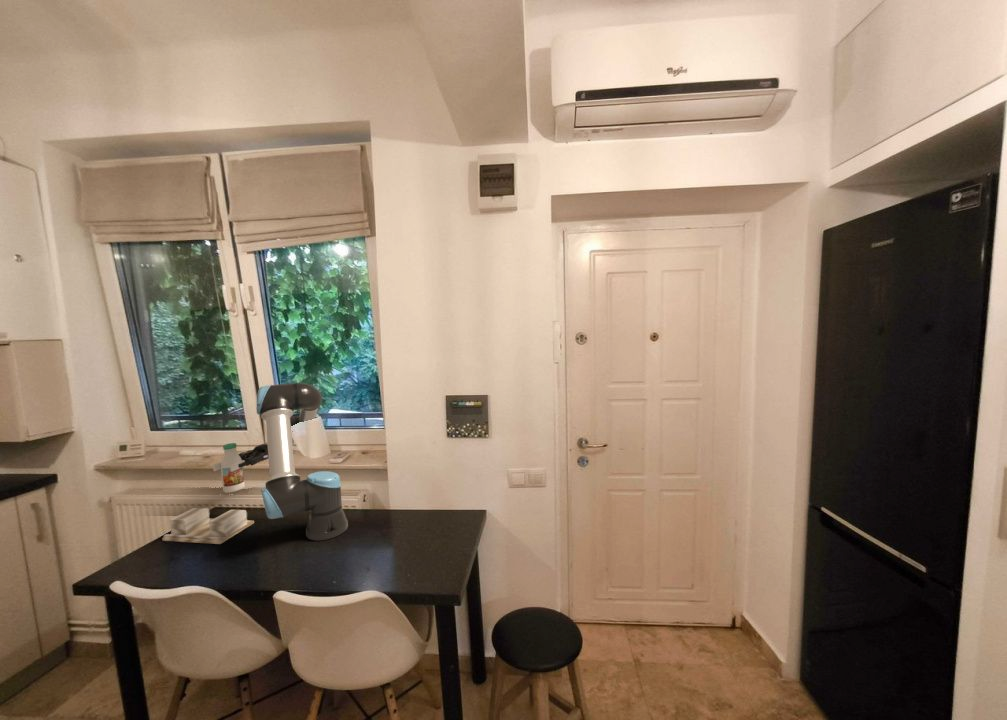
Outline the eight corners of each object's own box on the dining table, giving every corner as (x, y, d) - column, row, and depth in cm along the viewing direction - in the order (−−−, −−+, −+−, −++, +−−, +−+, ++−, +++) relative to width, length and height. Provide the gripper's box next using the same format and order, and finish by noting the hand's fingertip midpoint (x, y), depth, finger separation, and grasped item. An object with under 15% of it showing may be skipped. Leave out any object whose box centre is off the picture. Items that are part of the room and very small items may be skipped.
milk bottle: (218, 492, 159) (213, 447, 158) (234, 485, 167) (230, 441, 165) (233, 493, 158) (229, 447, 156) (249, 485, 165) (244, 441, 164)
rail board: (254, 522, 158) (252, 506, 158) (220, 544, 142) (218, 526, 142) (201, 520, 162) (199, 504, 162) (162, 540, 146) (160, 523, 146)
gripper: (284, 459, 178) (244, 477, 156) (247, 458, 182) (202, 476, 159) (283, 443, 178) (242, 460, 155) (246, 443, 181) (201, 459, 159)
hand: (222, 468), depth 157 cm, fingers closed on milk bottle, 7 cm apart
